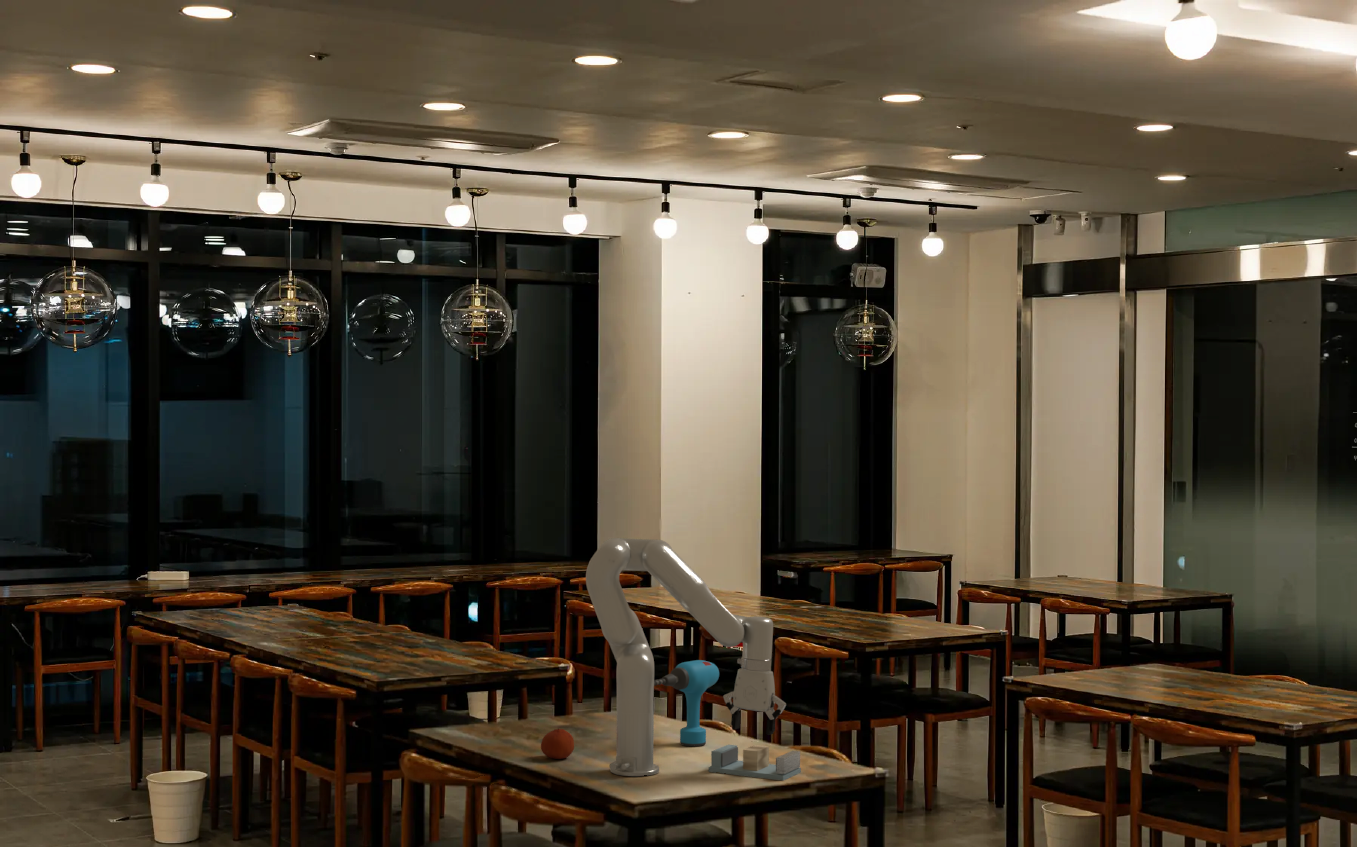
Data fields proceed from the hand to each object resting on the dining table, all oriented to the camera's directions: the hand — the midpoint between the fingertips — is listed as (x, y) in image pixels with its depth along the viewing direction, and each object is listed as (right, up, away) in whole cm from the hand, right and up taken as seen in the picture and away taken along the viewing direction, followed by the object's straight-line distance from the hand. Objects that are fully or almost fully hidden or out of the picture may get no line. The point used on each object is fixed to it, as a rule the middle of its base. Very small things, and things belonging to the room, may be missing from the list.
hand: (752, 731), depth 409 cm
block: (+1, -9, 0) cm, 9 cm away
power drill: (-18, -11, +32) cm, 38 cm away
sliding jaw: (+9, -9, -4) cm, 13 cm away
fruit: (-52, -10, +15) cm, 55 cm away
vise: (0, -10, 0) cm, 10 cm away
